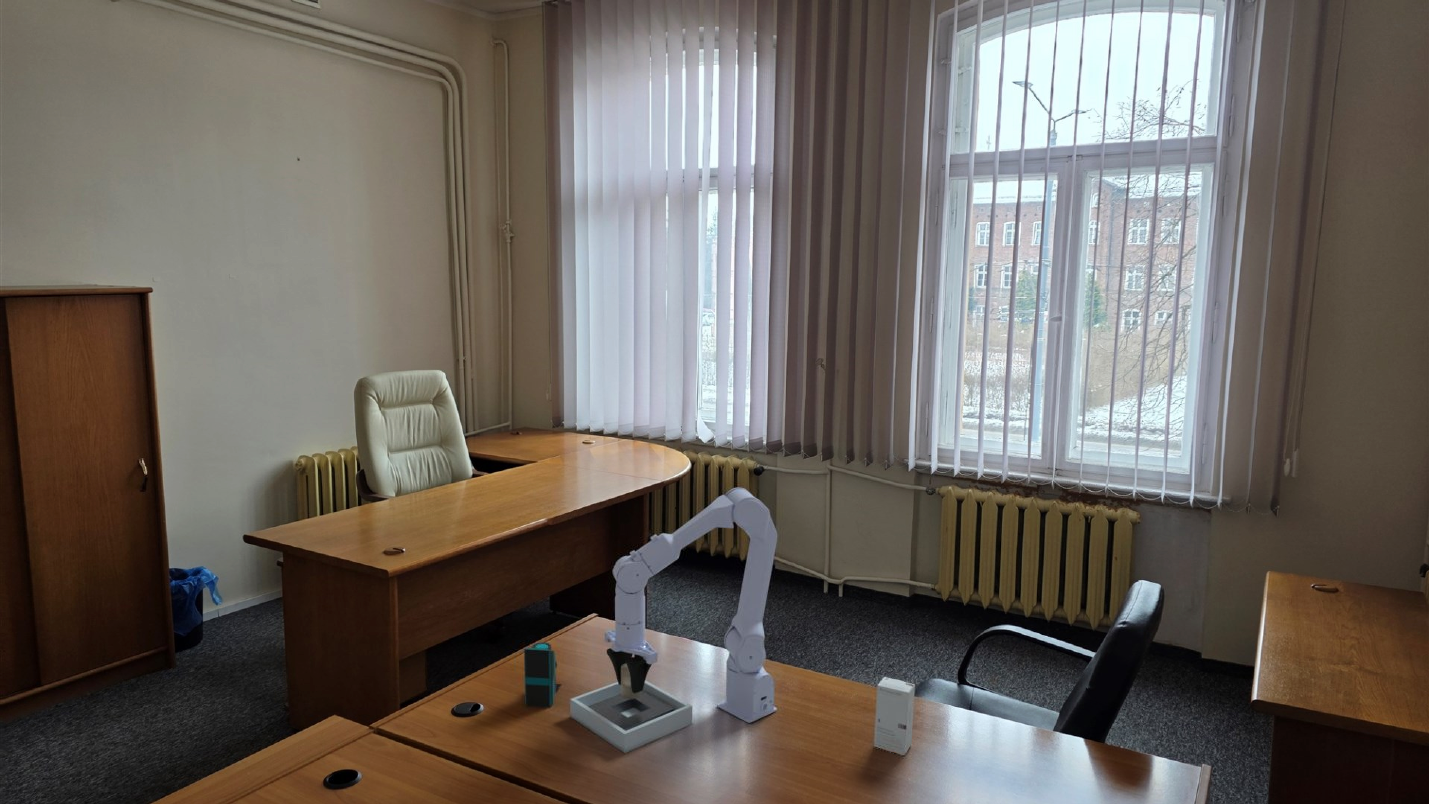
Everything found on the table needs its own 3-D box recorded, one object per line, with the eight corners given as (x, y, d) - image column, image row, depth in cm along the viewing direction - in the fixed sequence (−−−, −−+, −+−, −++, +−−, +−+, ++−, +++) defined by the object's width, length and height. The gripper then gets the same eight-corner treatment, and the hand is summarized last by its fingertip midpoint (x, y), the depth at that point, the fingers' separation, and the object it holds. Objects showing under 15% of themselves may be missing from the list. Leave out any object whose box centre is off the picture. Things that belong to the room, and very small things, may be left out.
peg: (645, 694, 162) (646, 667, 161) (629, 700, 159) (629, 673, 158) (632, 687, 164) (632, 660, 164) (616, 694, 162) (616, 666, 161)
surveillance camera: (565, 631, 175) (550, 650, 166) (566, 685, 177) (551, 708, 167) (539, 629, 176) (522, 649, 166) (540, 684, 177) (524, 706, 168)
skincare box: (873, 748, 152) (874, 685, 151) (880, 737, 156) (882, 675, 155) (906, 757, 149) (908, 693, 148) (913, 746, 153) (915, 683, 152)
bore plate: (674, 718, 162) (674, 708, 161) (624, 739, 154) (623, 729, 153) (637, 696, 170) (636, 687, 170) (587, 715, 162) (587, 706, 162)
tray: (692, 723, 161) (692, 706, 160) (624, 753, 150) (624, 734, 150) (636, 691, 174) (635, 675, 174) (570, 716, 163) (570, 699, 163)
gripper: (591, 614, 162) (592, 680, 164) (636, 636, 152) (636, 707, 153) (620, 605, 167) (621, 670, 169) (666, 626, 156) (666, 695, 158)
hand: (630, 687), depth 161 cm, fingers closed on peg, 4 cm apart
